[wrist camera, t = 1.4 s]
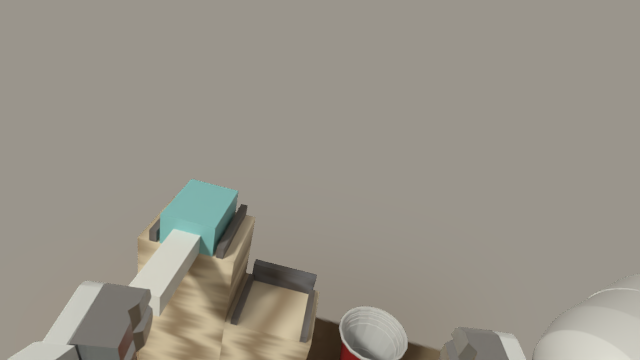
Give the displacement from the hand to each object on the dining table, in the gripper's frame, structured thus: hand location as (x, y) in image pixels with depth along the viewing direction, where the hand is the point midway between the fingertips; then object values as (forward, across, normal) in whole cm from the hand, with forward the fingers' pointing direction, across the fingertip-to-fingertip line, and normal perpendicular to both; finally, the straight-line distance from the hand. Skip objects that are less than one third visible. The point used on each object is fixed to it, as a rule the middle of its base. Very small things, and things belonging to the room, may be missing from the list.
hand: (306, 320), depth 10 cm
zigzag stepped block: (+25, -5, -52) cm, 58 cm away
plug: (+23, -10, -24) cm, 35 cm away
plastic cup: (+27, +16, -54) cm, 62 cm away
